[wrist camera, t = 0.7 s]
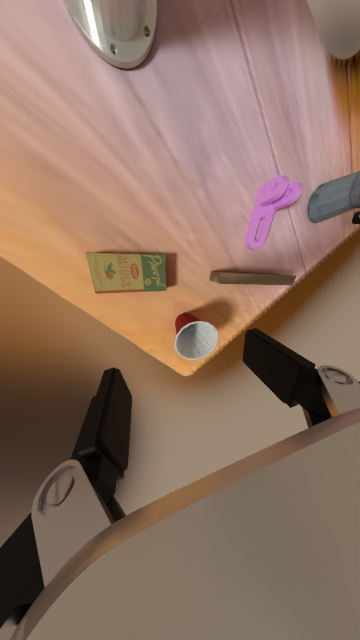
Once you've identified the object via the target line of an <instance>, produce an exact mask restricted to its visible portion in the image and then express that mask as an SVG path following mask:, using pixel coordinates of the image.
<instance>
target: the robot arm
mask: <svg viewBox="0 0 360 640" xmlns="http://www.w3.org/2000/svg"><path fill="white" fill-rule="evenodd" d="M64 2H65V4H66V6H67V9H68V11H69V13H70V15H71V17H72V19H73V21H74V23H75V24H76V26H77V28H78V29H79V31H80V33H81V35H82V36H83V37H84V39H85V40H86V41H87V43H88V44H89V45H90V47H91V48H92V49H93V50H94V51H95V52H96V53H97V54H98V55H99V56H100V57H102V58H103V59H104V60H105V61H107V62H108V63H110V64H112V65H114V66H116V67H119V68H125V69H127V68H134V67H135V66H137V65H139V64H141V63H142V62H143V60H144V59H145V58H146V57H147V55H148V53H149V52H150V50H151V47H152V44H153V41H154V36H155V30H156V20H157V0H64ZM243 362H244V363H245V364H246V365H247V366H248V367H249V368H250V369H251V371H253V372H254V374H255V375H256V376H258V377H259V379H260V380H261V381H262V382H263V383H264V384H265V385H266V386H267V387H268V388H269V389H270V390H271V391H272V392H273V393H274V394H275V395H276V396H277V397H278V398H279V399H280V400H281V401H282V402H283V403H286V404H287V405H288V406H289V407H290V408H291V407H294V406H296V405H298V404H300V405H301V406H302V409H303V412H304V415H305V419H306V422H307V425H308V429H306V430H304V431H301V432H299V433H297V434H295V435H293V436H291V437H288V438H286V439H284V440H282V441H280V442H278V443H276V444H273V445H271V446H269V447H267V448H265V449H263V450H261V451H259V452H256V453H254V454H252V455H250V456H248V457H246V458H243V459H241V460H239V461H237V462H235V463H233V464H231V465H228V466H227V467H224V468H222V469H220V470H218V471H216V472H214V473H212V474H210V475H207V476H206V477H203V478H201V479H199V480H197V481H195V482H193V483H191V484H189V485H186V486H184V487H182V488H180V489H178V490H176V491H174V492H172V493H170V494H168V495H166V496H164V497H162V498H160V499H158V500H156V501H154V502H152V503H150V504H148V505H146V506H144V507H142V508H140V509H138V510H136V511H134V512H132V513H130V514H129V515H127V516H126V514H125V513H124V511H123V510H122V508H121V506H120V504H119V503H118V501H117V499H116V497H115V496H114V493H115V488H116V481H119V480H121V479H123V477H124V470H126V469H127V466H128V454H129V439H130V423H131V408H132V396H131V393H130V391H129V389H128V387H127V385H126V383H125V380H124V379H123V376H122V374H121V372H120V370H119V369H116V368H111V369H107V370H105V371H104V373H103V376H102V379H101V383H100V385H99V388H98V391H97V394H96V396H94V397H93V398H92V400H91V403H90V405H89V408H88V411H87V414H86V417H85V420H84V423H83V425H82V428H81V431H80V434H79V437H78V440H77V443H76V445H75V448H74V451H73V454H72V457H71V460H69V461H66V462H64V463H63V464H61V465H60V466H58V467H57V468H56V469H55V470H54V471H53V472H52V473H51V474H50V475H49V476H48V477H47V479H46V480H45V481H44V483H43V484H42V486H41V487H40V489H39V491H38V493H37V495H36V497H35V499H34V503H33V506H32V512H31V513H30V514H29V515H28V517H27V518H26V519H25V520H24V521H23V522H22V524H21V525H20V526H19V527H18V528H17V529H16V530H15V532H14V533H13V534H12V535H11V536H10V537H9V538H8V540H7V541H6V542H5V543H4V544H3V545H2V547H1V548H0V640H360V382H359V381H357V380H356V379H355V378H354V377H353V376H352V375H351V374H349V373H348V372H345V371H344V370H342V369H339V368H337V367H333V366H326V365H325V366H320V367H318V370H317V369H315V368H314V367H315V364H314V363H312V362H310V361H309V360H307V359H306V358H304V357H302V356H301V355H299V354H297V353H296V352H294V351H293V350H291V349H289V348H287V347H286V346H284V345H283V344H281V343H279V342H278V341H276V340H274V339H273V338H271V337H270V336H268V335H266V334H265V333H263V332H261V331H260V330H258V329H256V328H254V329H250V330H248V331H247V333H246V334H245V342H244V351H243Z"/></svg>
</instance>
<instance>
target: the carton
mask: <svg viewBox="0 0 360 640" xmlns="http://www.w3.org/2000/svg"><path fill="white" fill-rule="evenodd" d="M86 256H87V261H88V265H89V269H90V273H91V276H92V281H93V285H94V289H95V293H98V294H99V293H118V292H145V291H166V290H167V284H166V255H162V254H124V253H91V252H86Z"/></svg>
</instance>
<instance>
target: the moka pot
mask: <svg viewBox="0 0 360 640" xmlns="http://www.w3.org/2000/svg"><path fill="white" fill-rule="evenodd" d="M354 208H360V171H359V172H356V173H353V174H350V175H347V176H344V177H341V178H339V179H336V180H333V181H330V182H327V183H325V184H322V185H320V186H319V187H318V188H317V189H316V190H315V192H314V193H313V195H312V197H311V199H310V203H309V207H308V214H309V217H310V219H311V221H313V222H314V223H317V222H320V221H323V220H326V219H328V218H331V217H334V216H336V215H339V214H342V213H344V212H347V211H350V210H352V209H354ZM359 215H360V211H358V212H356V213H355V214H354V217H353V219H352V224H360V218H359Z"/></svg>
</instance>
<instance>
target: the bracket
mask: <svg viewBox="0 0 360 640" xmlns="http://www.w3.org/2000/svg"><path fill="white" fill-rule="evenodd" d="M288 182H289V179H288V178H287V177H285V176H283V175H279V176H277V177H276V178H274V179H272V180H271V181H269V182H267V183H266V184H264V185H262V186H261V187H259V191H258V194H257V198H256V202H255V205H254V209H253V213H252V216H251V220H250V224H249V227H248V231H247V235H246V240H245V241H246V246H247V247H248V248H249V249H251V250H253V249H259V248H260V247H261V246H262V245H263V244H264V242H265V240H266V237H267V234H268V231H269V228H270V225H271V222H272V219H273V216H274V213H275V211H276V210H277V209H280V208H283V207H286V206H288V205H291V204H292V203H294V202H295V201H296V200H297V199H298V197H299V196H300V194H301V192H302V189H303V185H302V184H301V183H299V182H297V181H294V182H292V183H290V184H288ZM260 219H262V224H261V227H260V230H259V234H258V237H257V240H256V241H255V235H256V232H257V228H258V225H259V222H260Z"/></svg>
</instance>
